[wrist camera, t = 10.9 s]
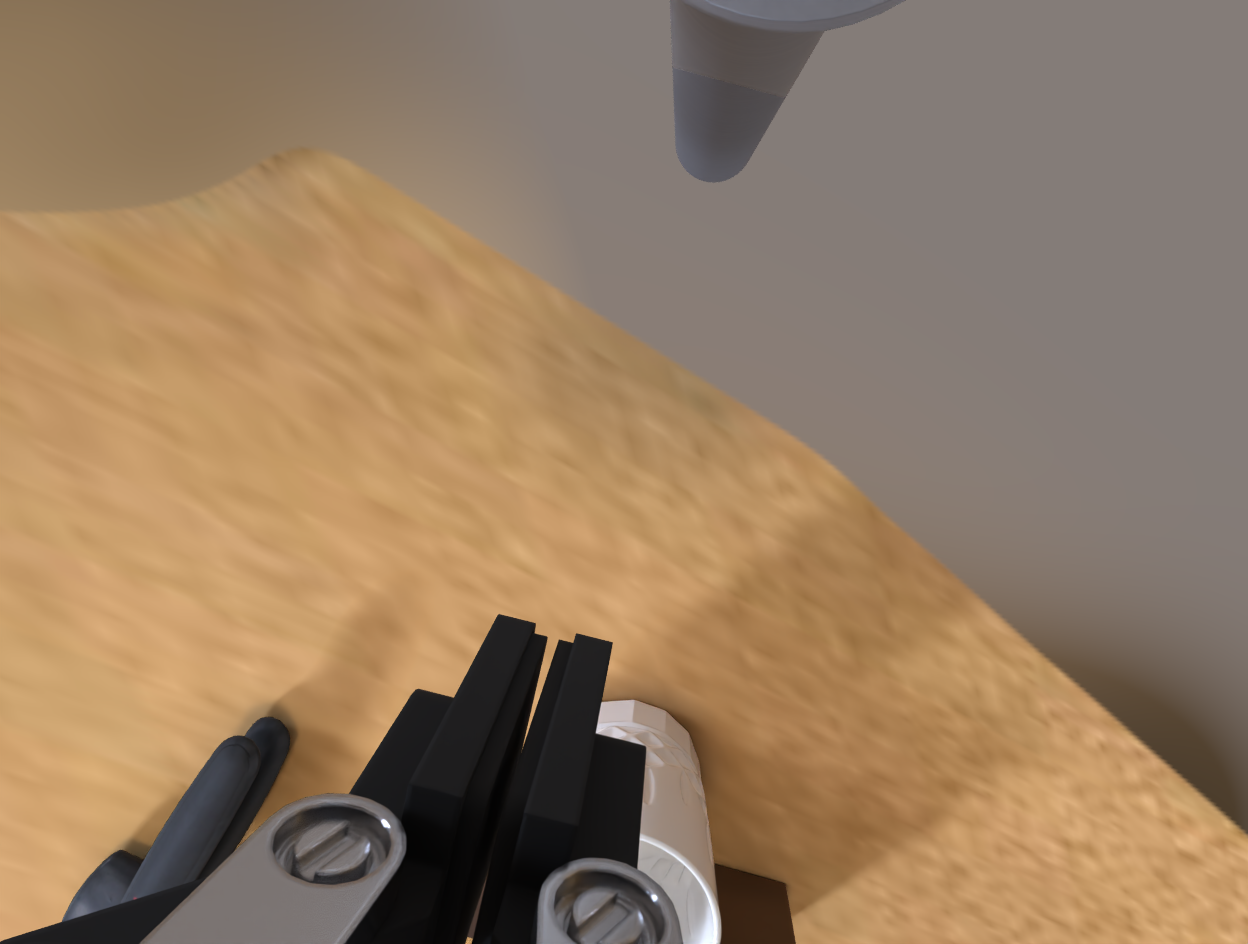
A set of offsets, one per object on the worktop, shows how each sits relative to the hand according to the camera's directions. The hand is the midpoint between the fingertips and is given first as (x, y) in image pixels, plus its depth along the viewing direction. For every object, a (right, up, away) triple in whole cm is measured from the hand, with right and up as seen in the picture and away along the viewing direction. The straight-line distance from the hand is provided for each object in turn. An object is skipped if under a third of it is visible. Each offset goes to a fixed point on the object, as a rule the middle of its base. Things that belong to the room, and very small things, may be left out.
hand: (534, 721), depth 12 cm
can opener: (-20, -15, +29) cm, 38 cm away
